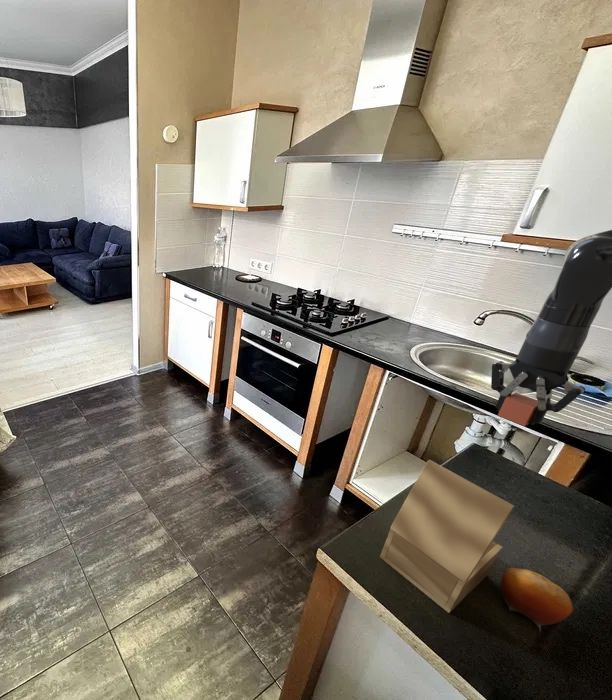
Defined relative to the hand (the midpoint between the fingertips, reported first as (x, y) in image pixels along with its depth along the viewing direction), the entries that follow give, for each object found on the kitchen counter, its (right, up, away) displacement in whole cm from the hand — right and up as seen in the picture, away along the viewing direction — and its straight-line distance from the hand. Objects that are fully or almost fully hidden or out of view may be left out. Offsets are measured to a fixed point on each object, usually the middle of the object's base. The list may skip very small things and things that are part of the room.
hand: (515, 416), depth 79 cm
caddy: (-25, -26, -10) cm, 37 cm away
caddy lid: (-29, -14, -17) cm, 36 cm away
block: (0, 0, 0) cm, 0 cm away
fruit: (-15, -29, -17) cm, 37 cm away
